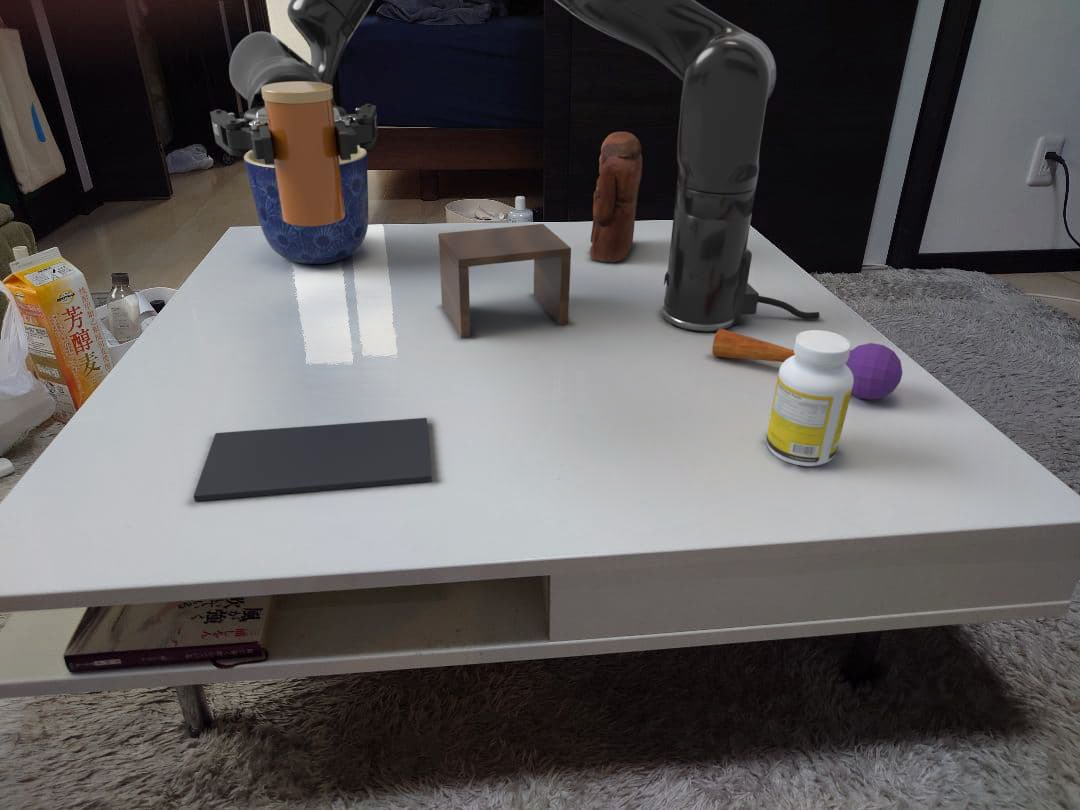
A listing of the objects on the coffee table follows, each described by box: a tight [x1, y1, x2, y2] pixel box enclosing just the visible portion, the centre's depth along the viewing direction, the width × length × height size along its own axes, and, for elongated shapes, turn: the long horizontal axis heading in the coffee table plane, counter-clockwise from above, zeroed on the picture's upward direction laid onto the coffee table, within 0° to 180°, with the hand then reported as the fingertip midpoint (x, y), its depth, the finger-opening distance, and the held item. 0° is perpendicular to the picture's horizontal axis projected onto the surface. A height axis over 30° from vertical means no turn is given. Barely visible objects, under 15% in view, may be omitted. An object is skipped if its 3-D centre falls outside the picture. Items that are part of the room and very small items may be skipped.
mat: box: [193, 417, 433, 502], centre depth 71 cm, size 20×10×1 cm, turn 100°
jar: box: [261, 81, 345, 226], centre depth 61 cm, size 5×5×10 cm
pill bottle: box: [765, 329, 854, 467], centre depth 71 cm, size 6×6×12 cm
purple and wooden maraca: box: [712, 329, 903, 401], centre depth 85 cm, size 6×6×20 cm
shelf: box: [438, 223, 572, 339], centre depth 97 cm, size 14×10×10 cm
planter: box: [243, 144, 370, 265], centre depth 114 cm, size 17×17×15 cm
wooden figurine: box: [589, 131, 643, 263], centre depth 117 cm, size 12×6×18 cm, turn 165°
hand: (307, 148), depth 58 cm, fingers closed on jar, 5 cm apart
